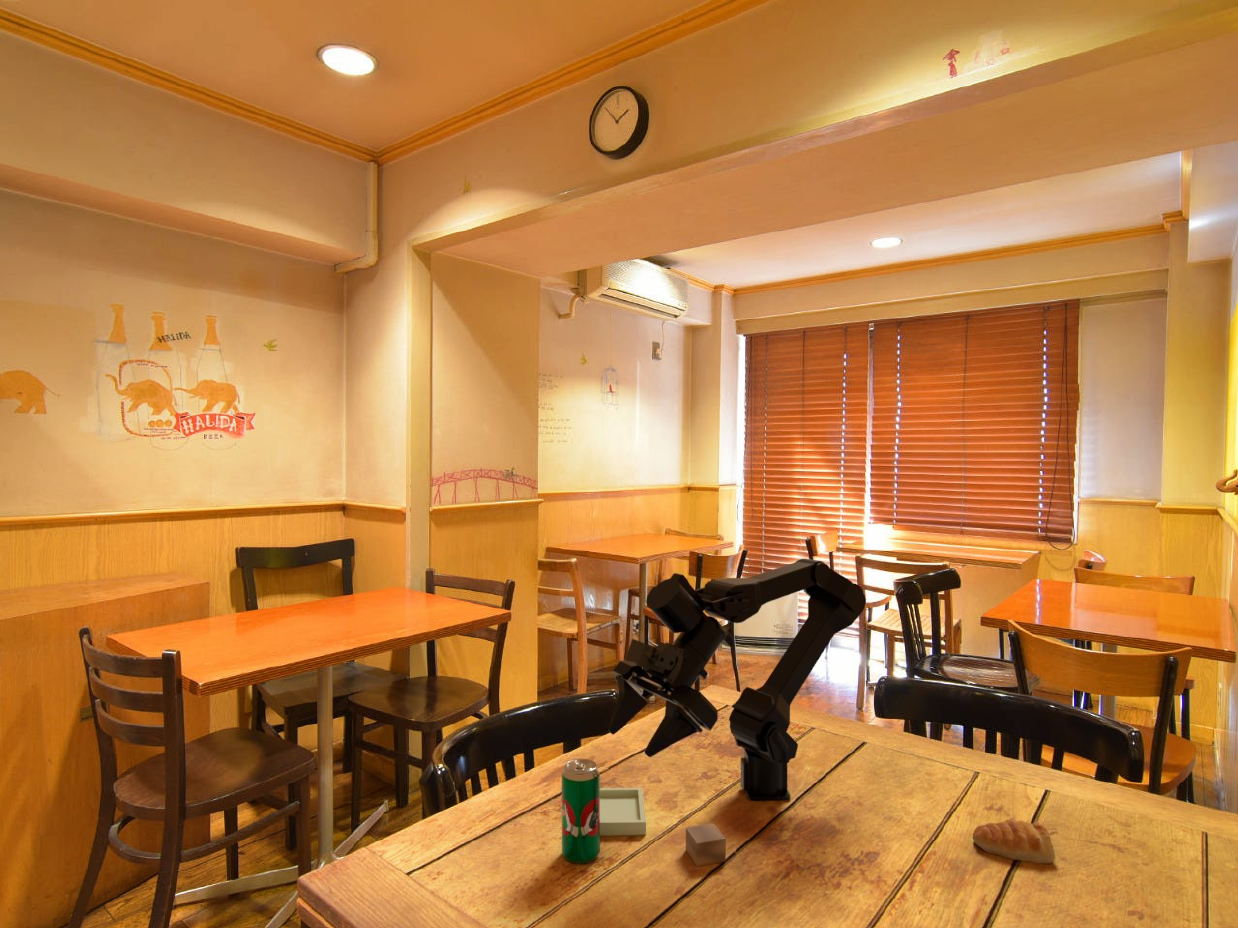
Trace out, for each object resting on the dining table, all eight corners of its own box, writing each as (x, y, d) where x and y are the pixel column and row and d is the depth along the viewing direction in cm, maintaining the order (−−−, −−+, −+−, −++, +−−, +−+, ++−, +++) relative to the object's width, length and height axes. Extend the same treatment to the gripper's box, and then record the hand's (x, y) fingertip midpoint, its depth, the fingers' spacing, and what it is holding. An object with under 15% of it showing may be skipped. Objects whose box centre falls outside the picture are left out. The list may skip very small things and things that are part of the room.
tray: (642, 799, 110) (642, 787, 110) (646, 834, 99) (646, 822, 99) (575, 799, 110) (575, 788, 110) (571, 835, 99) (571, 822, 99)
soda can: (602, 845, 97) (601, 757, 97) (597, 866, 92) (597, 774, 92) (565, 843, 97) (565, 756, 97) (558, 864, 92) (558, 772, 92)
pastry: (981, 860, 93) (981, 831, 93) (966, 833, 100) (966, 806, 100) (1059, 867, 92) (1059, 838, 92) (1039, 840, 98) (1039, 812, 98)
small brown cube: (713, 845, 97) (713, 823, 97) (725, 861, 93) (725, 838, 93) (685, 849, 96) (685, 827, 96) (697, 866, 92) (697, 843, 92)
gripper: (623, 606, 109) (559, 691, 103) (700, 631, 93) (630, 733, 87) (665, 650, 113) (606, 733, 107) (745, 681, 98) (681, 781, 92)
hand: (628, 743), depth 98 cm, fingers open, 9 cm apart
